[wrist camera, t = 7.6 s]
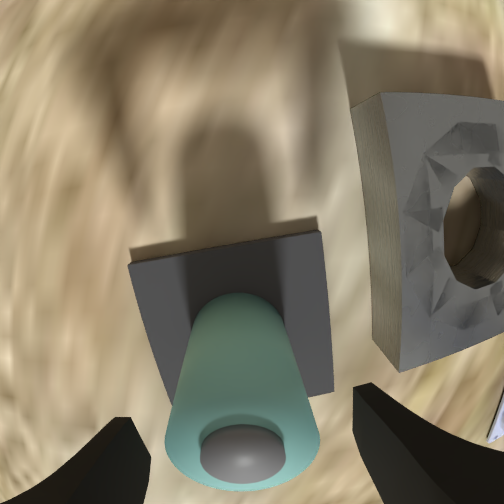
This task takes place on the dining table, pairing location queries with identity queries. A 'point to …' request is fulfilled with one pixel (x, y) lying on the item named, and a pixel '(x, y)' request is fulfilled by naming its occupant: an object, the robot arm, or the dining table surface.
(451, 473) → the robot arm
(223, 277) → the mat
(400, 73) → the dining table surface
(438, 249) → the housing
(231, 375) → the teal and grey cylinder
